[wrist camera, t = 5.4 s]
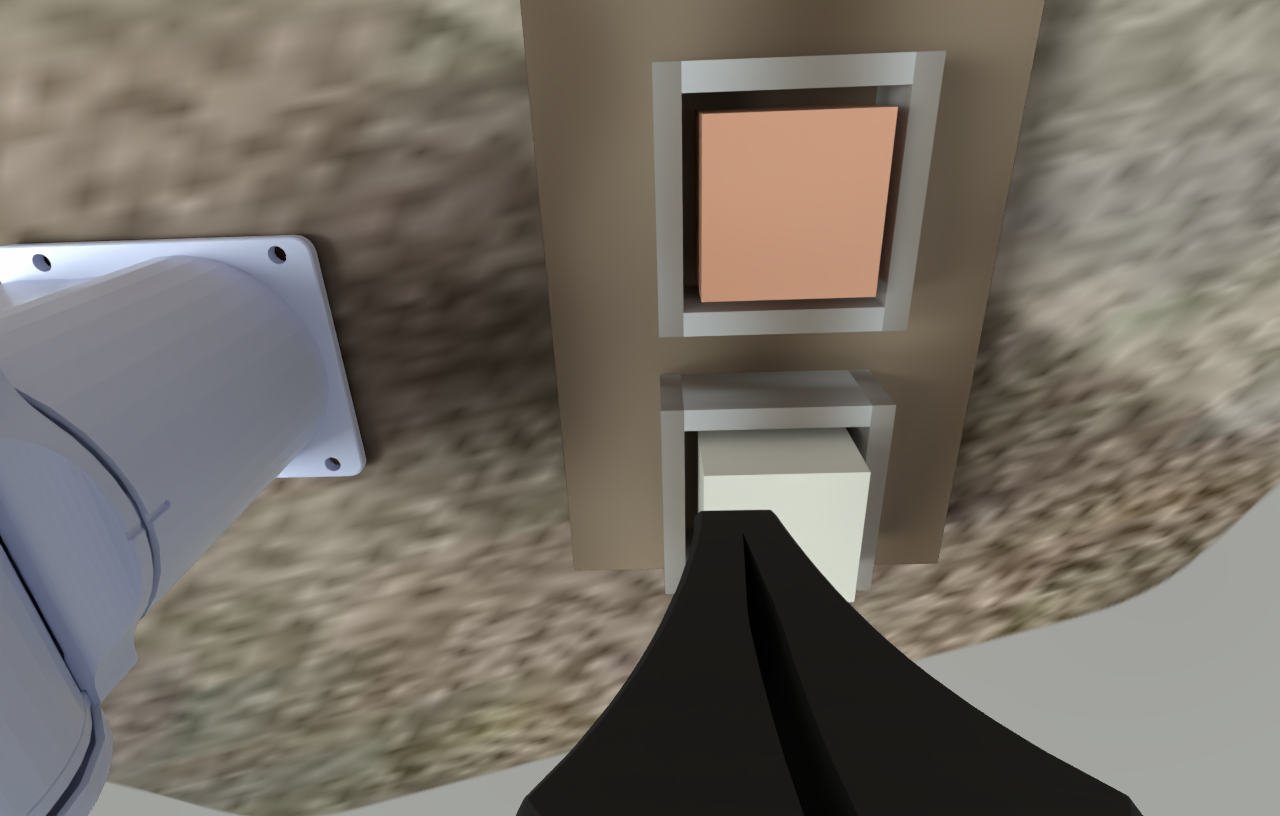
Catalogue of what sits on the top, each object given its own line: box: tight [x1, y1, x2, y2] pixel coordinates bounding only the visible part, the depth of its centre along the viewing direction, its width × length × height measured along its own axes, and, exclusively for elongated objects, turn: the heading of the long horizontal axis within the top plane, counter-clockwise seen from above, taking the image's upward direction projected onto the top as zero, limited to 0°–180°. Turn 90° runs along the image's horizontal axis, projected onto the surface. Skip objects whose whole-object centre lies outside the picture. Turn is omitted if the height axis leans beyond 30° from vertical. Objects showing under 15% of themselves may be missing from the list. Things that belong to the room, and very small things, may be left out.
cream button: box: [698, 427, 871, 602], centre depth 18 cm, size 4×4×2 cm
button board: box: [520, 0, 1045, 594], centre depth 17 cm, size 12×24×4 cm, turn 2°
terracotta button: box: [695, 104, 898, 302], centre depth 16 cm, size 4×4×2 cm
